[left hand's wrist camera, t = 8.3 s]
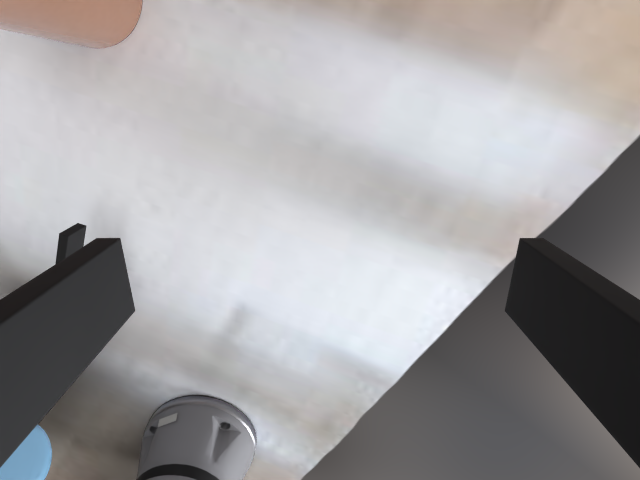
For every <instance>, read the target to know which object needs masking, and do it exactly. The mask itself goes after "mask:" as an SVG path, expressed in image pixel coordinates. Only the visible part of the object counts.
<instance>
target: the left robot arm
mask: <svg viewBox="0 0 640 480" xmlns="http://www.w3.org/2000/svg"><path fill="white" fill-rule="evenodd" d="M134 312H135V307H134V303H133V298H132V293H131V288H130V283H129V279H128V274H127V269H126V264H125V259H124V254H123V250H122V245H121V240H120V238H96V239H95V240H93V241H92V242H90V243H89V244H87V245H85V246H84V247H82V248H81V249H79V250H78V251H76V252H74V253H73V254H71V255H70V256H68V257H67V258H65V259H64V260H62V261H60V262H59V263H57V264H56V265H54V266H53V267H51V268H49V269H48V270H46V271H45V272H43V273H42V274H40V275H39V276H37V277H35V278H34V279H32V280H31V281H29V282H28V283H26V284H24V285H23V286H21V287H20V288H18V289H17V290H15V291H14V292H12V293H10V294H9V295H7V296H6V297H4V298H3V299H1V300H0V468H1V466H2V465H3V464H4V463H5V462H6V461H7V459H8V458H9V457H10V456H11V455H12V454H13V453H14V451H15V450H16V449H17V448H18V447H19V446H20V444H21V443H22V442H23V441H24V440H25V439H26V437H27V436H28V435H29V434H30V433H31V432H32V430H33V429H34V428H35V427H36V426H37V425H38V423H39V422H40V421H41V420H42V419H43V418H44V416H45V415H46V414H47V413H48V412H49V411H50V409H51V408H52V407H53V406H54V405H55V404H56V402H57V401H58V400H59V399H60V398H61V397H62V395H63V394H64V393H65V392H66V391H67V390H68V388H69V387H70V386H71V385H72V384H73V383H74V381H75V380H76V379H77V378H78V377H79V376H80V374H81V373H82V372H83V371H84V370H85V369H86V367H87V366H88V365H89V364H90V363H91V362H92V360H93V359H94V358H95V357H96V356H97V355H98V353H99V352H100V351H101V350H102V349H103V348H104V346H105V345H106V344H107V343H108V342H109V341H110V340H111V338H112V337H113V336H114V335H115V334H116V333H117V331H118V330H119V329H120V328H121V327H122V326H123V324H124V323H125V322H126V321H127V320H128V319H129V317H130V316H131V315H132V314H133V313H134ZM505 312H506V313H507V314H508V315H509V316H510V317H511V319H512V320H513V321H514V322H515V323H516V324H517V326H518V327H519V328H520V329H521V330H522V331H523V333H524V334H525V335H526V336H527V337H528V338H529V340H530V341H531V342H532V343H533V344H534V345H535V346H536V348H537V349H538V350H539V351H540V352H541V353H542V355H543V356H544V357H545V358H546V359H547V360H548V362H549V363H550V364H551V365H552V366H553V367H554V369H555V370H556V371H557V372H558V373H559V374H560V376H561V377H562V378H563V379H564V380H565V381H566V383H567V384H568V385H569V386H570V387H571V388H572V390H573V391H574V392H575V393H576V394H577V395H578V397H579V398H580V399H581V400H582V401H583V402H584V404H585V405H586V406H587V407H588V408H589V409H590V410H591V412H592V413H593V414H594V415H595V416H596V418H597V419H598V420H599V421H600V422H601V423H602V425H603V426H604V427H605V428H606V429H607V430H608V432H609V433H610V434H611V435H612V436H613V437H614V438H615V440H616V441H617V442H618V443H619V444H620V445H621V447H622V448H623V449H624V450H625V451H626V452H627V454H628V455H629V456H630V457H631V458H632V459H633V461H634V462H635V463H636V464H637V465H638V466H639V468H640V300H639V299H637V298H636V297H634V296H633V295H631V294H630V293H628V292H626V291H625V290H623V289H622V288H620V287H619V286H617V285H616V284H614V283H612V282H611V281H609V280H608V279H606V278H605V277H603V276H601V275H600V274H598V273H597V272H595V271H594V270H592V269H591V268H589V267H587V266H586V265H584V264H583V263H581V262H580V261H578V260H576V259H575V258H573V257H572V256H570V255H569V254H567V253H565V252H564V251H562V250H561V249H559V248H558V247H556V246H555V245H553V244H551V243H550V242H548V241H547V240H545V239H544V238H520V240H519V245H518V250H517V254H516V259H515V264H514V269H513V274H512V279H511V284H510V288H509V293H508V298H507V303H506V308H505Z"/></svg>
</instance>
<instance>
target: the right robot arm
mask: <svg viewBox="0 0 640 480" xmlns="http://www.w3.org/2000/svg"><path fill="white" fill-rule="evenodd" d="M85 231H86V226H85V225H82V224H79V223H77V224H76V225H74V226H72V227H70V228H68V229H67V230H65V231H63V232H61V233H59V241H58V249H57V257H56V264H57V263H59V262H60V261H62V260H64V259H65V258H67V257H68V256H70V255H71V254H73V253H74V252H76V251H78V250H79V249H81V248H82V247H83V245H84V238H85ZM255 448H256V434H255V430H254V428H253V426H252V424H251V422H250V421H249V419H248V418H247V417H246V416H245V415H244V414H243V413H242V412H241V411H240V410H238V409H237V408H235V407H234V406H232V405H230V404H228V403H226V402H224V401H221V400H218V399H215V398H211V397H204V396H187V397H181V398H177V399H174V400H172V401H169V402H167V403H166V404H164V405H162V406H161V407H160V408H159V409H158V410H156V412H155V413H154V414H153V415H152V417H151V419H150V421H149V423H148V425H147V427H146V429H145V432H144V435H143V439H142V445H141V453H140V460H139V467H138V475H137V479H136V480H243V478H244V476H245V475H246V473H247V471H248V469H249V467H250V465H251V463H252V460H253V457H254V453H255ZM51 459H52V449H51V443H50V440H49V438H48V436H47V434H46V433H45V431H44V430H43V429H42V428H41V427H40V426H39V425H37V426H36V427H35V428H34V429H33V430H32V432H31V433H30V434H29V435H28V436H27V437H26V439H25V440H24V441H23V442H22V443H21V444H20V446H19V447H18V448H17V449H16V450H15V451H14V453H13V454H12V455H11V456H10V457H9V458H8V459H7V461H6V462H5V463H4V464H3V465H2V466H1V468H0V480H44V479H45V478H46V476H47V474H48V471H49V469H50V465H51Z"/></svg>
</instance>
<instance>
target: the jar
mask: <svg viewBox="0 0 640 480" xmlns="http://www.w3.org/2000/svg"><path fill="white" fill-rule="evenodd" d="M141 8H142V0H0V29H1V30H6V31H11V32H15V33H20V34H25V35H30V36H35V37H40V38H44V39H49V40H54V41H59V42H64V43H69V44H73V45H78V46H83V47H88V48H106V47H111V46H113V45H116V44H118V43H119V42H121V41H123V40H124V39H125V38H126V37H127V36H128V35H129V34H130V33H131V32H132V31H133V29H134V27H135V26H136V24H137V22H138V19H139V16H140V13H141Z"/></svg>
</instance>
